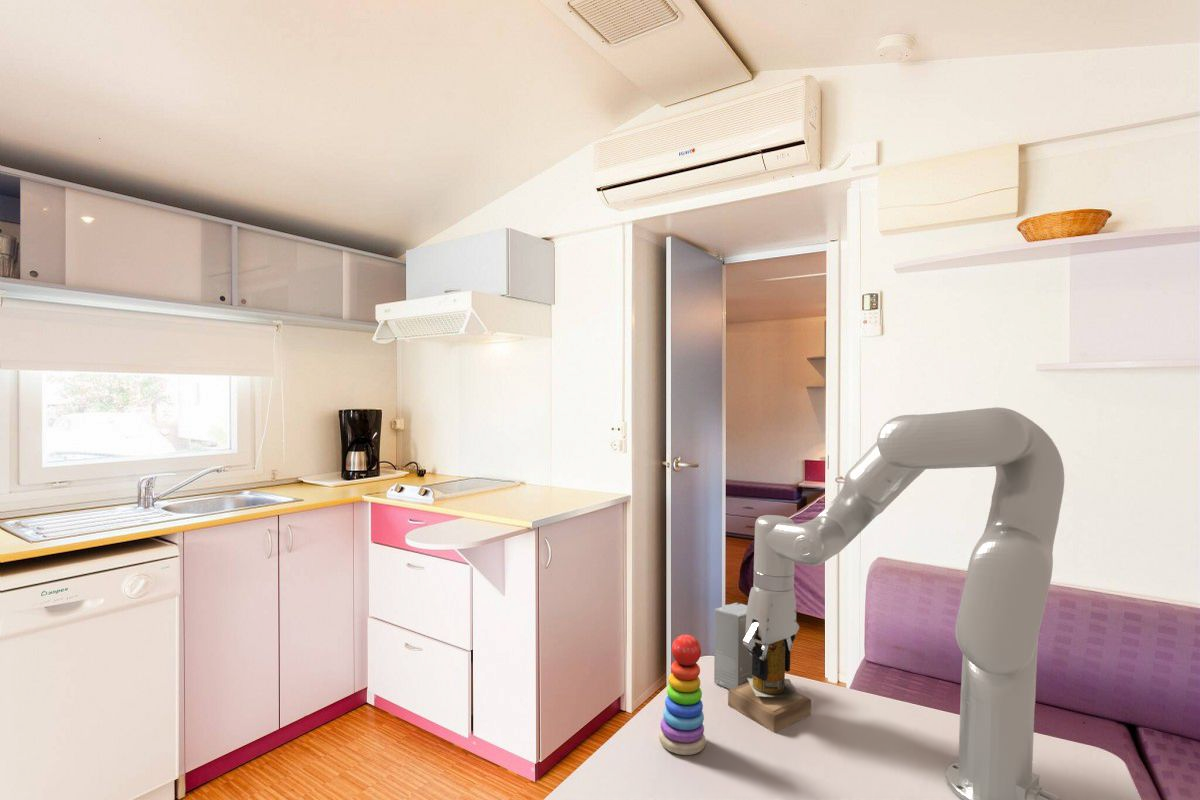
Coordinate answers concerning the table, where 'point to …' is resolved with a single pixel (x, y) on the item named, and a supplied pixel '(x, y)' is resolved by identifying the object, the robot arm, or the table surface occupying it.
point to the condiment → (774, 674)
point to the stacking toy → (684, 701)
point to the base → (769, 707)
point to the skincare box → (731, 647)
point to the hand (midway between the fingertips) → (771, 672)
